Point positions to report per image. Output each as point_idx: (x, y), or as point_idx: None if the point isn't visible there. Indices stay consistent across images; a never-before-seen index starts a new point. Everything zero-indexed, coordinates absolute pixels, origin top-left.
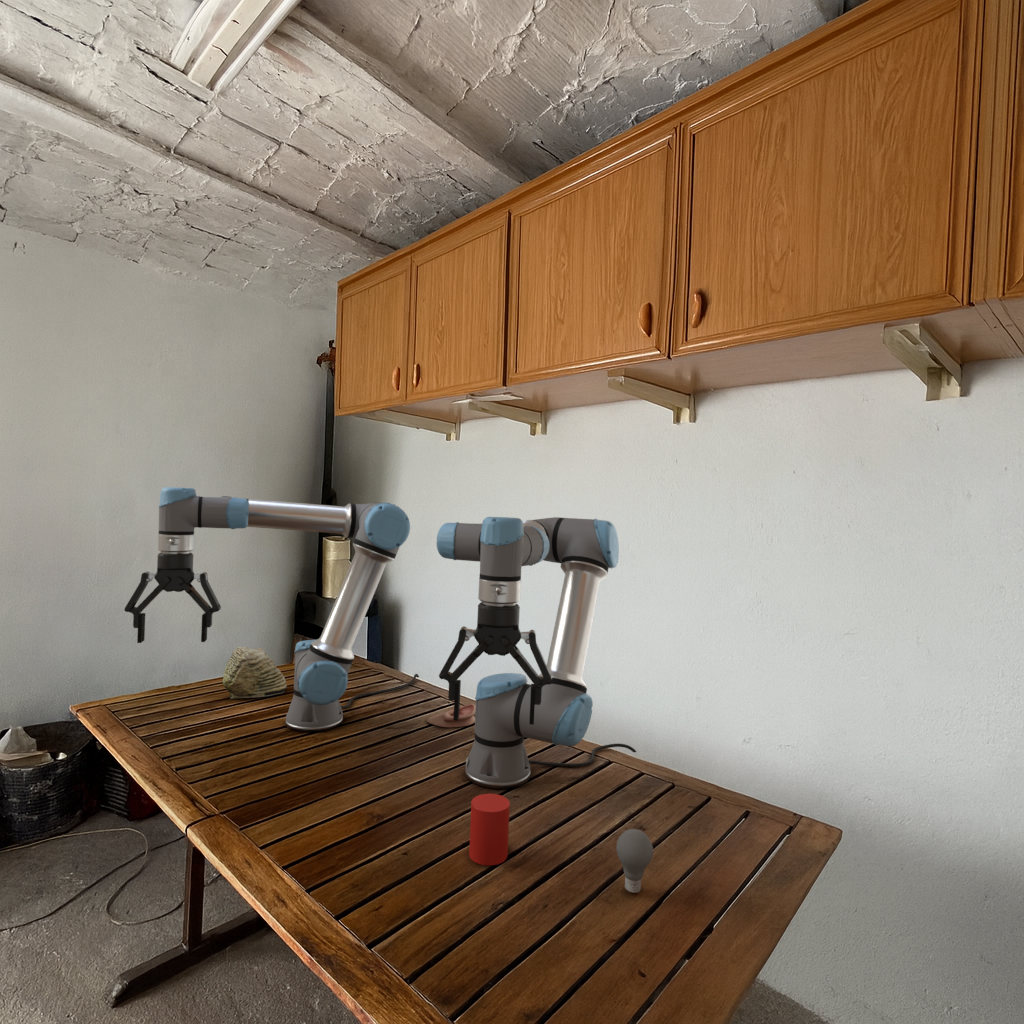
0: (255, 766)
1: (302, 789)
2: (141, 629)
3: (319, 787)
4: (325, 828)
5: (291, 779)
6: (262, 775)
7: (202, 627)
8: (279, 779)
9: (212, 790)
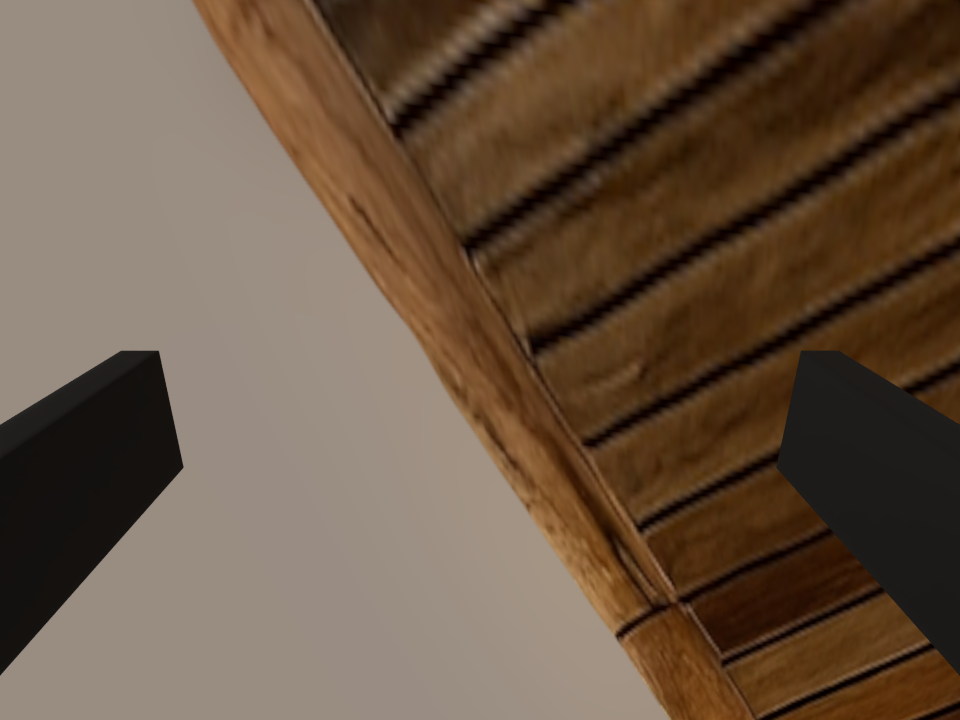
0: (771, 361)
1: None
2: (93, 560)
3: None
4: (891, 684)
5: None
6: None
7: (890, 586)
8: None
9: (652, 494)
